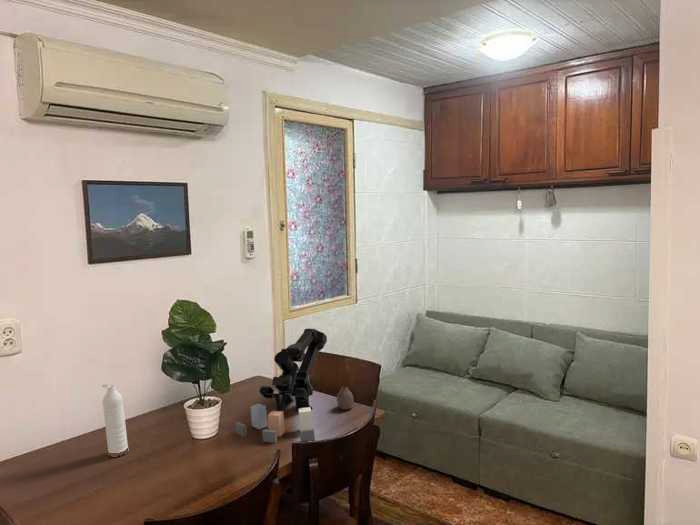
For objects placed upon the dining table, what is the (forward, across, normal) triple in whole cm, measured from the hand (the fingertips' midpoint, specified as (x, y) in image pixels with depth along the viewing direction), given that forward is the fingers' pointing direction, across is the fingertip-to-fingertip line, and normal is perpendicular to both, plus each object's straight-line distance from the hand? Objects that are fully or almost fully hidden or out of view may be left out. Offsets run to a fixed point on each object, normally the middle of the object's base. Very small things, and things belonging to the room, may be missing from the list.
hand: (278, 414), depth 199 cm
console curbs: (+8, 0, +2) cm, 8 cm away
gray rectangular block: (+3, -10, +7) cm, 12 cm away
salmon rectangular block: (+6, 0, +3) cm, 7 cm away
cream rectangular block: (+3, +10, +7) cm, 12 cm away
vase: (-14, +18, +23) cm, 32 cm away
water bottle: (+24, -51, -14) cm, 58 cm away
